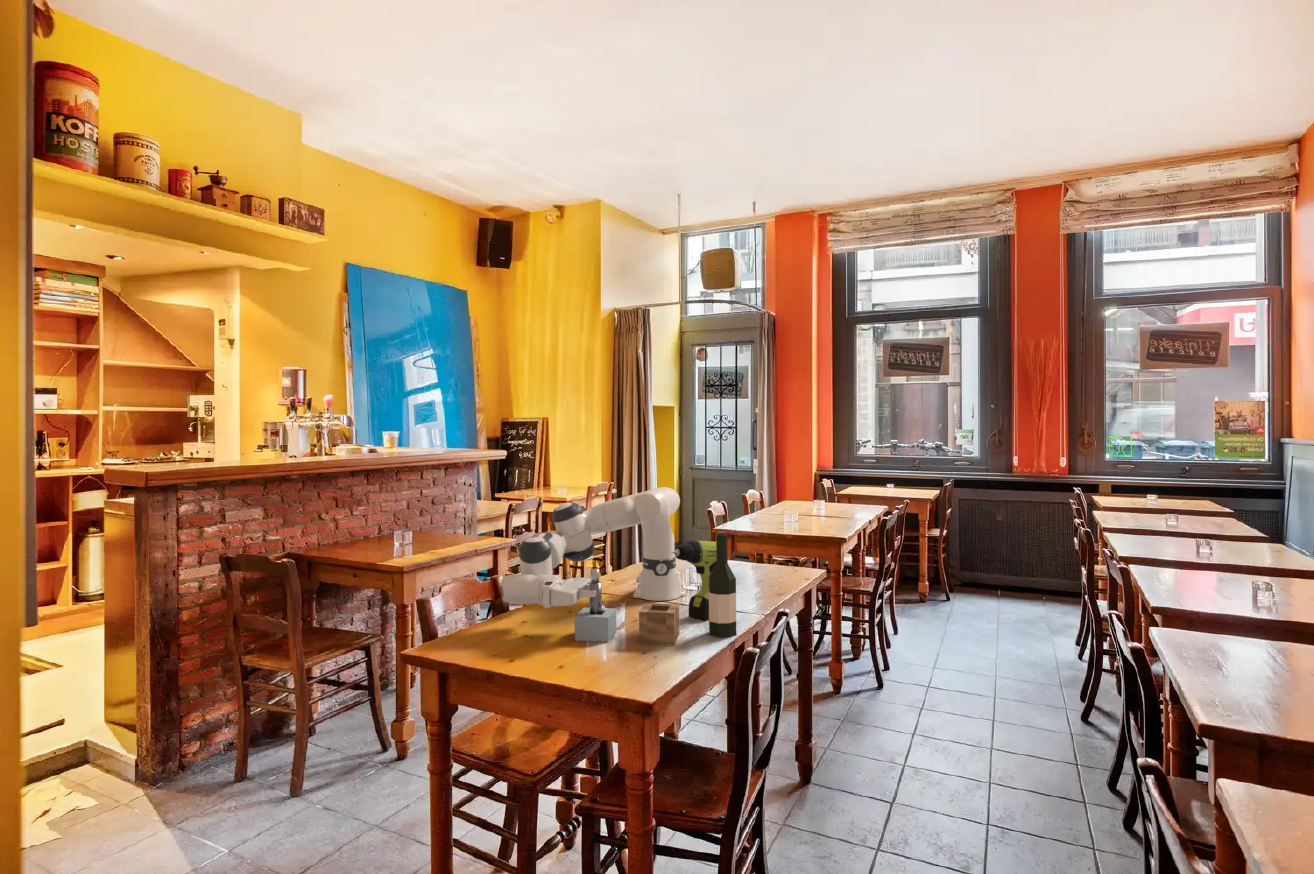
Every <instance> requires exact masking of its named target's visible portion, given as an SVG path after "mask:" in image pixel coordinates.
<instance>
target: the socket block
mask: <svg viewBox="0 0 1314 874" xmlns="http://www.w3.org/2000/svg"><path fill="white" fill-rule="evenodd" d="M617 612H618V611H617V608H611V607H610V608H609V607H608V608H607V607H602V615H592V614H590V607H586V606H585V607H583V608H582V609H581V610H580V611H578V613H576V614H575V615H574V641H575V642H576V641H578V642H595V641H601V643H609V642H610V641H611V640H612V638H613V637H614V636H615V635H614V633H615V632H616V630H618V627H617V626H618V625H617V624H618V623H617V622H618V619H617ZM616 633H617V632H616ZM616 633H615V634H616ZM613 635H614V636H613ZM612 636H613V637H612ZM610 639H611V640H610ZM609 640H610V641H609ZM604 641H605V642H604Z"/></svg>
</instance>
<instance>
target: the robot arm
mask: <svg viewBox="0 0 1314 874" xmlns="http://www.w3.org/2000/svg"><path fill="white" fill-rule="evenodd" d="M680 504H681V498H680V495H679V494H678V492H677V491H676V490H675V489H673V488H672V487H671V488H670V487H667V486H661V487H657V488H652V489H649V490H645V491H641V492H637V493H634V494H630V495H626V496H623V497H619V498H615V499H612V500H607V501H604V502H602V503H598V504H595V505H594V506H591V507H589V508H588V509H587V508H586V507H585V506H583V505H580V504H579V503H577V502H563V503H562V504H559V505H558V506H557V507H556V508H554V509H553V511H552V513H551V517H552V522H553V523H554V526H555V530H556V531H555V530H547V531H541V532H537V533H536V532H535V533H534V534H533V535H532V536H531V537H529V538H526V539H524V540H523V541H522V542H521V543H520V544H519V546H518V547H517V549H518V557H519V563H520V566H519V567H520V573H519V574H517V573H516V574H508V575H507V574H506V575H504V576H502V579H501V583H500V593H501V598H502V599H503V600H502V601H504V602H507V603H511V604H517V605H532V604H536V605H540V606H542V607H543V608H545V609H550V608H552V607H567V606H569V607H570V606H573V605H575V604H576V603H577V602H579V601H580V599H586V598H589V597H596V596H597V590H589V583H590V582H591V577H570V578H567V579H563V577H562V576H561V575H559V574H553V569H555V568H557V567H558V565H560V563H561V562H562V560H563V559H565V560H566V559H567V560H568V561H571V562H576V563H578V562H583V561H586V560H588V559H589V558H590V557H592V556H593V555H594V553H595V552H596V549H595V547H596V546H595V543H594V541H593V537H592V534H600V533H601V534H603V533H609V532H615V531H618V530H621V529H623V530H624V529H626V528H630V527H635V526H638V525H641V530H642V535H643V537H642V538H643V557H642V561H641V562H642V570H641V572H640V573H639V574H638V575H637V576H636V578H635V579H636V582H635V583H637V586H636V588H635V589H634V592H633V595H632V596H633V598H634V599H643V600H646V601H656V602H657V601H658V602H659V601H661V602H663V601H671V600H675V599H676V600H677V599H679V598H680V597H684V596H686V592H685V591H684V590H682V587H681V585H682V584H681V573H680V571H678V569H677V568H676V566H677V558H676V556H675V555H674V553H672V552H673V551H674V550H675V535H674V532H673V531H672V526H671V522H670V516H672V515H673V514H675V513H676V511H677V510H678V508H679V507H680Z"/></svg>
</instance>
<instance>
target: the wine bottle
mask: <svg viewBox="0 0 1314 874" xmlns="http://www.w3.org/2000/svg"><path fill="white" fill-rule="evenodd" d="M715 538H716V539H715V542H716V565H715V566H714V568H713V570H712V571H711V573H710V575H709V620H708V633H709V636H710V637H714V636H717V637H716V638H718V637H730V638H733V637H734V636H737V578H736V576H735V574H734V572H733V570H732V569H731V567H730V565H729V564H728V562H729V561H728V555H729V554H728V534H727V531H717V534H716V536H715ZM732 636H733V637H732Z"/></svg>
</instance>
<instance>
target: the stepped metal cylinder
mask: <svg viewBox="0 0 1314 874" xmlns="http://www.w3.org/2000/svg"><path fill="white" fill-rule="evenodd" d="M590 578H591V582H590V583H589V590H597V596H596V597H588V598H589V601H588V602H589V606H588V607H589V608H590V614H592V615H602V608H603V606H602V605H603V603H602V602H603V599H602V595H603V594H602V592H603V591H602V582H601V581H600V569H599V568H591V569H590Z"/></svg>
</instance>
